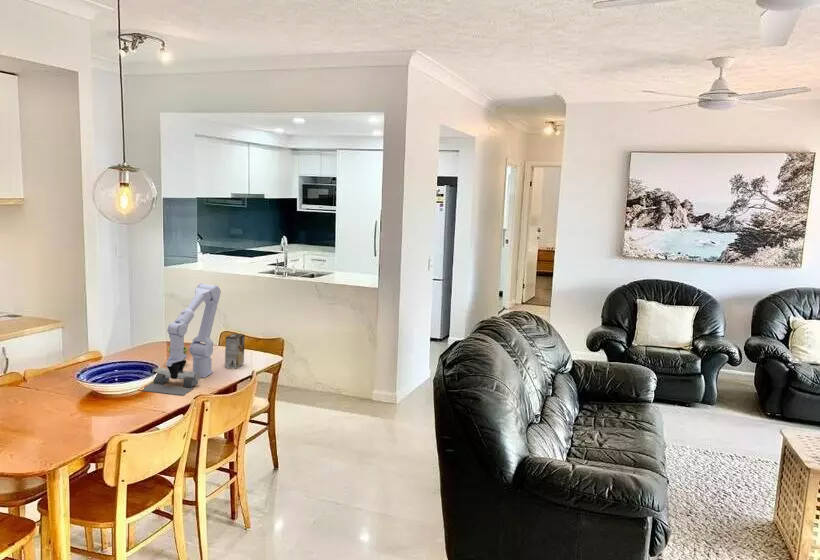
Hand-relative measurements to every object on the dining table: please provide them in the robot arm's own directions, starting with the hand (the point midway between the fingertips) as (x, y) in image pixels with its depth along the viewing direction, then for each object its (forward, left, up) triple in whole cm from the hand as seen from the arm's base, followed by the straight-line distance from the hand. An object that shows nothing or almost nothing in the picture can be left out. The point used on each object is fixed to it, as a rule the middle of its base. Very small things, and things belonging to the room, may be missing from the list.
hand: (176, 377), depth 275 cm
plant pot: (-26, -13, -3) cm, 29 cm away
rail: (0, 0, 0) cm, 0 cm away
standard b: (0, -7, -3) cm, 8 cm away
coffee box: (-35, +13, -3) cm, 37 cm away
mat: (+9, 0, -3) cm, 9 cm away
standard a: (0, +7, -3) cm, 8 cm away
